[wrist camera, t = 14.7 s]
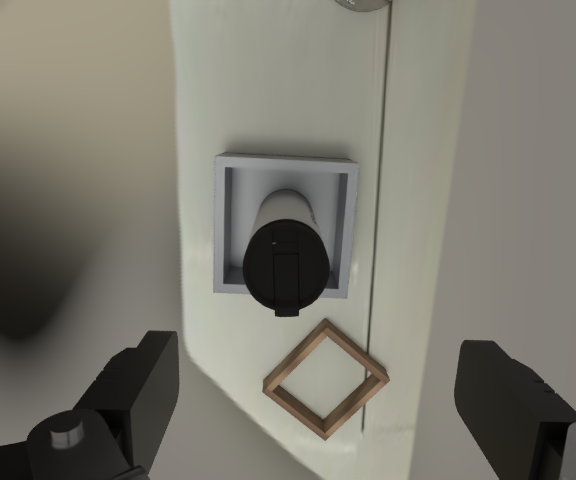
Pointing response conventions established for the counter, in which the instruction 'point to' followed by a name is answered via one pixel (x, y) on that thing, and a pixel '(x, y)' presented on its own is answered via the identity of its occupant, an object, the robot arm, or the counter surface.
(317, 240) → the travel mug
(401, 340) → the counter surface
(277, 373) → the walnut holder
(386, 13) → the counter surface
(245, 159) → the gray bin
